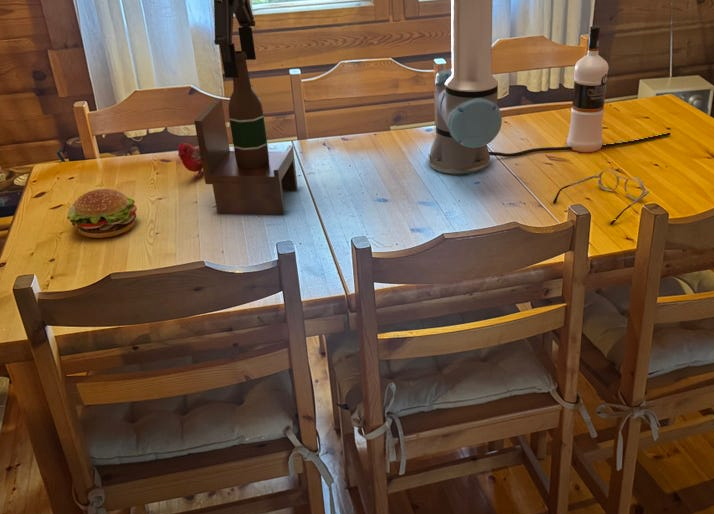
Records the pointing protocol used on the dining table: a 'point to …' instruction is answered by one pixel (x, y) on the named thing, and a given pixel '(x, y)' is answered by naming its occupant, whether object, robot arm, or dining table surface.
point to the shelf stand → (241, 170)
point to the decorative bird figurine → (190, 158)
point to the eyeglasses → (610, 190)
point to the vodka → (588, 98)
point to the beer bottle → (247, 120)
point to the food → (103, 213)
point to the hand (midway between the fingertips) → (241, 68)
